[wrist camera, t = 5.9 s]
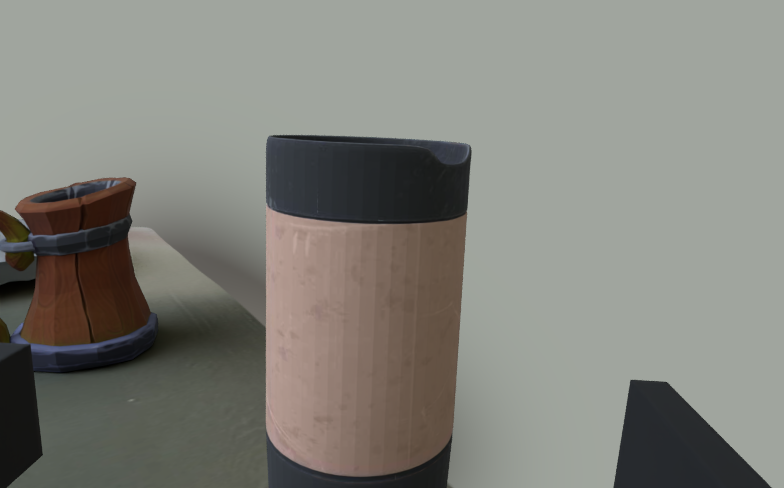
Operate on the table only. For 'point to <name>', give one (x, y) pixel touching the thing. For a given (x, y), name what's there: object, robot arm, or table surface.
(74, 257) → the mug
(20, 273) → the flat disc
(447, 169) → the travel mug
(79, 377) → the table surface
